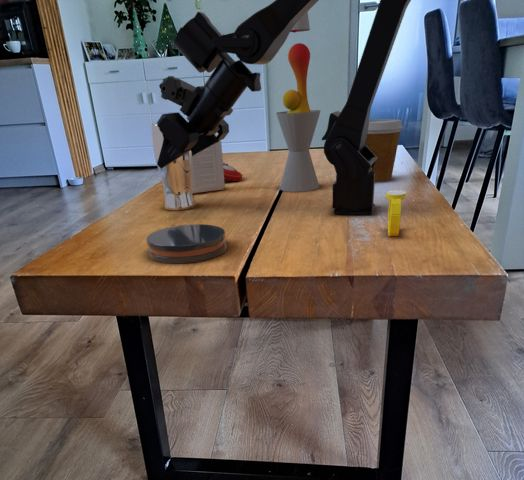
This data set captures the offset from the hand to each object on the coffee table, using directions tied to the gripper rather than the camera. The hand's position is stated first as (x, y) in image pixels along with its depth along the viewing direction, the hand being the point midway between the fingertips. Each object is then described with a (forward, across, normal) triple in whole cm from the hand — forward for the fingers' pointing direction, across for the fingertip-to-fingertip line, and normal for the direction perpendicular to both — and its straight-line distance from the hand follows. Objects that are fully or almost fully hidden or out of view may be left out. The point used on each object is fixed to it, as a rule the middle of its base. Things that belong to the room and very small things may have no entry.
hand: (171, 162), depth 92 cm
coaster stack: (-5, +26, +16) cm, 31 cm away
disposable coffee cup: (-19, -30, +31) cm, 47 cm away
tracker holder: (+7, -30, +5) cm, 31 cm away
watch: (-24, +14, +36) cm, 45 cm away
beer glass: (+6, 0, +6) cm, 9 cm away
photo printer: (+7, -15, +5) cm, 17 cm away
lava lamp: (-8, -20, +20) cm, 29 cm away
